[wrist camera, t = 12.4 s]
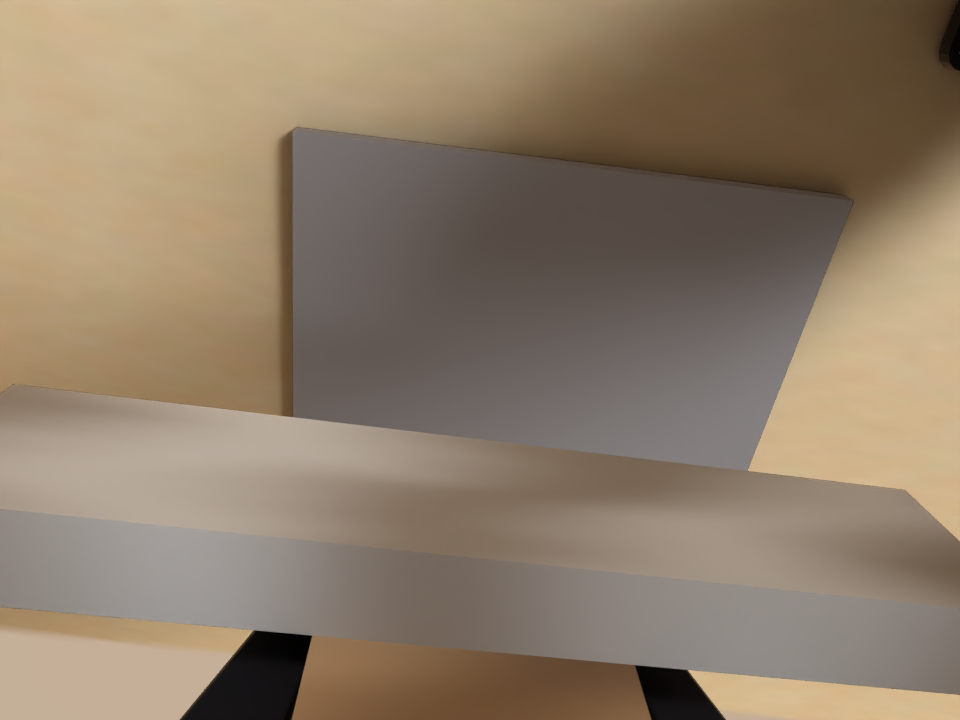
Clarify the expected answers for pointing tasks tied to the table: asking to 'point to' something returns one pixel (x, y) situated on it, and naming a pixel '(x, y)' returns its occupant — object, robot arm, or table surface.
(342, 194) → the rubber mat
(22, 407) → the wood and metal bracket
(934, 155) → the table surface
